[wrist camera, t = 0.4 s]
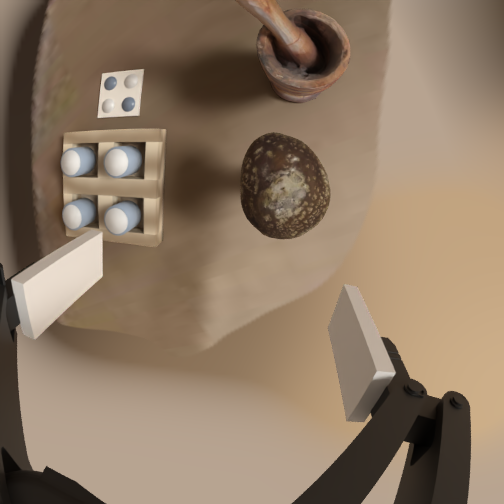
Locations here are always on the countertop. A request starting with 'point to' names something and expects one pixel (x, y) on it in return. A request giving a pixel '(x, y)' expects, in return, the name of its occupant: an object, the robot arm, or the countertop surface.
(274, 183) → the mushroom
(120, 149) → the button
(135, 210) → the button
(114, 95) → the card
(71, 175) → the button
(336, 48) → the mortar and pestle
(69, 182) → the wooden compartment tray
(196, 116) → the countertop surface
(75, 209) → the button
